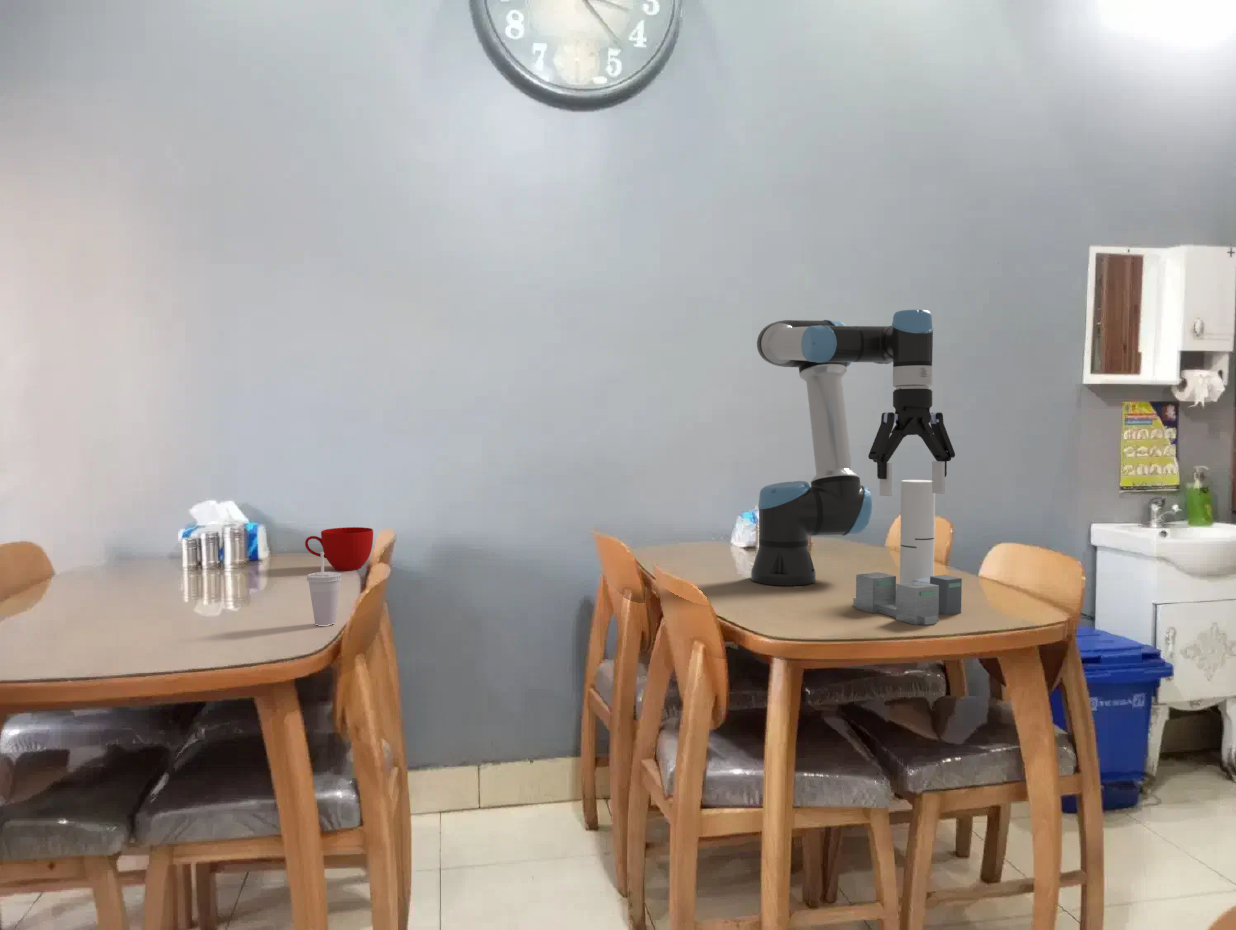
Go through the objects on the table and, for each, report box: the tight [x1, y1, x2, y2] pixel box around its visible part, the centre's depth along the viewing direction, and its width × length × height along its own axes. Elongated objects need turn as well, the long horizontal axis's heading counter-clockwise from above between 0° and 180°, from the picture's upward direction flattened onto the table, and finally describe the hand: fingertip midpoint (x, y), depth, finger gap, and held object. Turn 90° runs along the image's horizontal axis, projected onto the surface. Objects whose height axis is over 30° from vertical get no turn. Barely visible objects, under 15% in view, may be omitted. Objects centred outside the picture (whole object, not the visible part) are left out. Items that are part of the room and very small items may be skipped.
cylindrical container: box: [899, 479, 936, 584], centre depth 205 cm, size 7×7×25 cm
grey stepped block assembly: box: [852, 571, 940, 626], centre depth 186 cm, size 20×6×7 cm, turn 27°
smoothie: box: [306, 551, 343, 625], centre depth 179 cm, size 6×6×14 cm
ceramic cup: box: [304, 526, 374, 572], centre depth 241 cm, size 13×17×10 cm
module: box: [930, 574, 963, 616], centre depth 188 cm, size 5×4×7 cm
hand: (912, 494), depth 187 cm, fingers open, 13 cm apart
